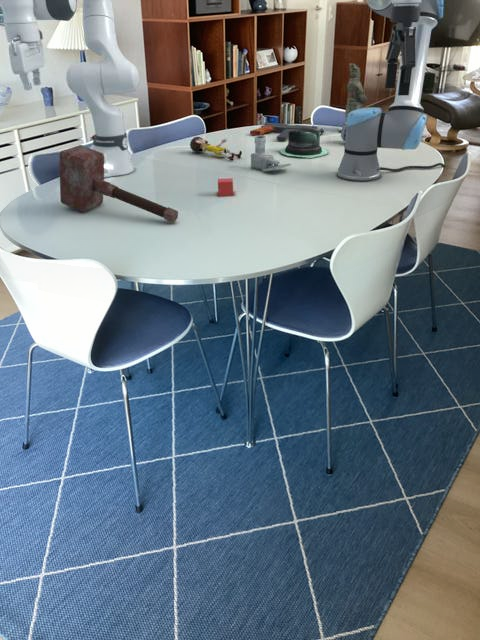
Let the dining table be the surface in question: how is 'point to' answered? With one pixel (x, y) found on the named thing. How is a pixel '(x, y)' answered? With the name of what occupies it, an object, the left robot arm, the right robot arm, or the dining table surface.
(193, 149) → the figurine
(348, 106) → the statue
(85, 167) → the sledgehammer
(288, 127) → the submachine gun
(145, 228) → the dining table surface
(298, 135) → the dark green rounded hat
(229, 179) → the block
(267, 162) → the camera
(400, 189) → the dining table surface
